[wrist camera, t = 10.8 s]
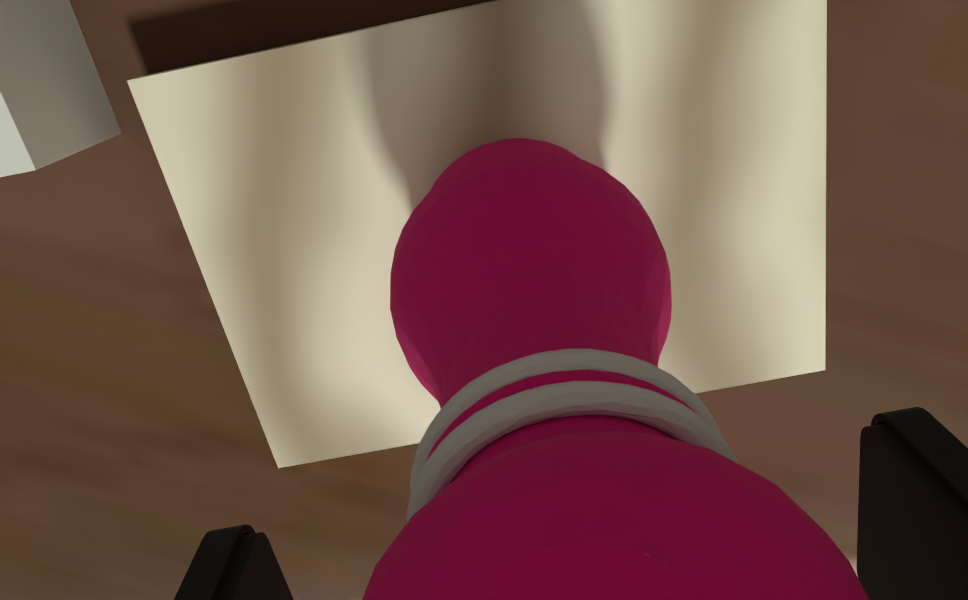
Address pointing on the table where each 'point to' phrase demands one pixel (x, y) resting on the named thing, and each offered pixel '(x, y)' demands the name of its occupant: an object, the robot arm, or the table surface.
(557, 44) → the ash board
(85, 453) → the table surface
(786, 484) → the table surface
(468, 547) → the pepper mill
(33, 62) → the grey block
